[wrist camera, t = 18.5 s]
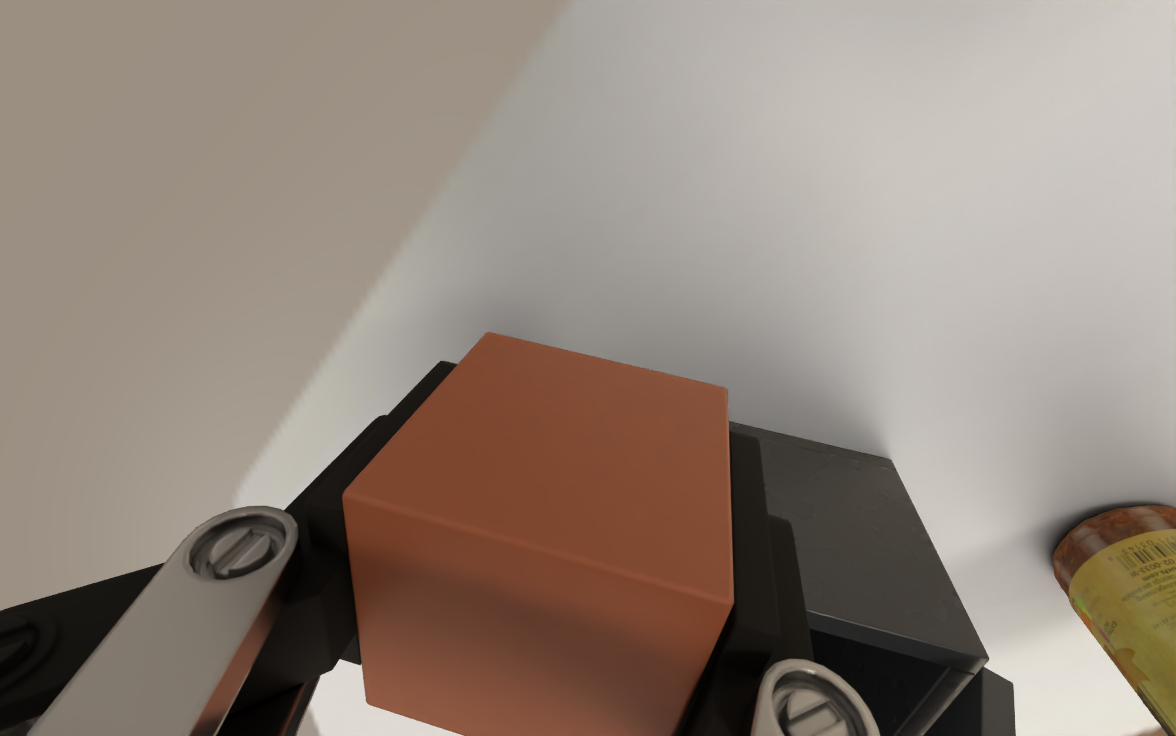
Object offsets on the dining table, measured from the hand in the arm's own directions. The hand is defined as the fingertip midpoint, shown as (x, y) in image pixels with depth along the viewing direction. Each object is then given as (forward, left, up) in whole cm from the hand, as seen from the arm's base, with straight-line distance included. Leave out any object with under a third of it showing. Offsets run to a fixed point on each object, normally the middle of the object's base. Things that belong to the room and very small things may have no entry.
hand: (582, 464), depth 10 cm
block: (0, 0, 0) cm, 0 cm away
